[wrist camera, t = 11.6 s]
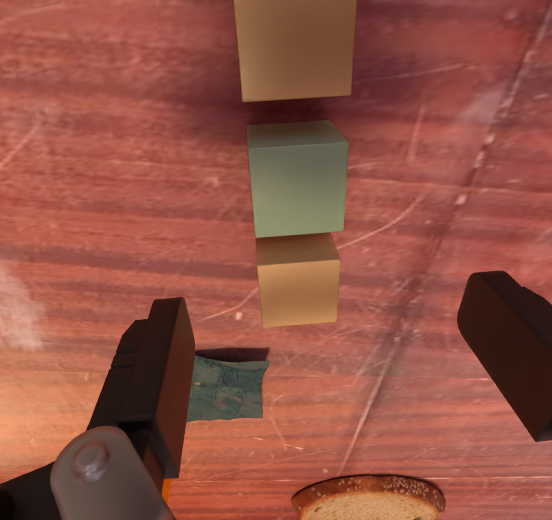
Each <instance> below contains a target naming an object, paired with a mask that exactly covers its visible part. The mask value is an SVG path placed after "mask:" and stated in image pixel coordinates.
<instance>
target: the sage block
mask: <svg viewBox="0 0 552 520" xmlns="http://www.w3.org/2000/svg"><path fill="white" fill-rule="evenodd" d="M247 149H248V161H249V172H250V183H251V194H252V206H253V217H254V228H255V237H256V238H261V237H274V236H287V235H300V234H313V233H326V232H339V231H343V228H344V212H345V197H346V181H347V165H348V149H349V142H348V141H347V140H346V139H345V137H344V136H343V135H342V134H341V133H340V132H339V131H338V129H337V128H336V127H335V126H334V125H333V124H332V123H331V121H330V120H319V121H303V122H288V123H273V124H257V125H247Z"/></svg>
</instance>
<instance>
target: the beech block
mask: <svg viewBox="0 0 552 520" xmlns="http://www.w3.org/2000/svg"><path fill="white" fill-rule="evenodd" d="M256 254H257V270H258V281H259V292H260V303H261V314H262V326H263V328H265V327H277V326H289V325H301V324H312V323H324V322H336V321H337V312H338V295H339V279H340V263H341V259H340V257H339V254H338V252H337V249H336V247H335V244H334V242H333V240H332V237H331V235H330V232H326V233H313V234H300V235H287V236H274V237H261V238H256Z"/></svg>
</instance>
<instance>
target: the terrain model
mask: <svg viewBox="0 0 552 520" xmlns="http://www.w3.org/2000/svg"><path fill="white" fill-rule="evenodd" d="M269 363H270V361H248V362H239V363H235V362H224V361H217V360H212V359H208V358H204V357H200V356H197V355H195V361H194V369H193V376H192V383H191V390H190V398H189V405H188V412H187V419H186V422H191V421H196V420H208V421H211V420H216V419H223V420H231V419H236V418H263V411H262V399H261V384H262V378H263V375H264V372H265V371H266V369H267V368H268V366H269Z"/></svg>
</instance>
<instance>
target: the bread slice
mask: <svg viewBox="0 0 552 520" xmlns="http://www.w3.org/2000/svg"><path fill="white" fill-rule="evenodd" d="M292 505H293V507H294V509H295V510H296V512H297V515H298V518H299V519H300V520H436V518H437V517H438V515H439V514H440V513H442V512H443V511H444V510H445V505H446V500H445V498H444V496H443V495H441V494H440V493H439V492H438V491H437V490H436V489H435V488H433V487H432V486H430V485H429V484H427V483H425V482H422V481H416V480H413V479H409V478H403V477H396V476H385V477H376V476H354V477H348V478H340V479H333V480H330V481H326V482H322V483H320V484H316V485H313V486H311V487H309V488H306V489H304V490H303V491H301V492H299V493H298V494H297V495H296V496H294V497H293V499H292Z"/></svg>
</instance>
